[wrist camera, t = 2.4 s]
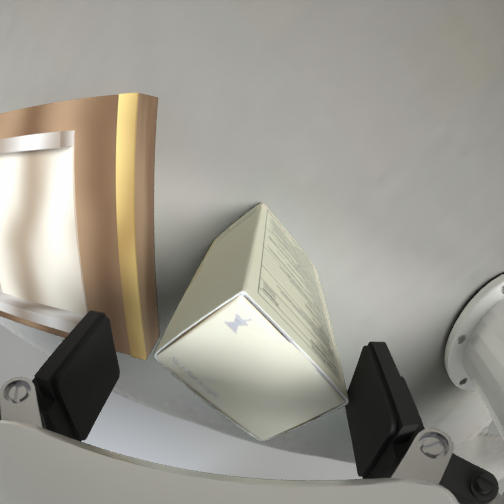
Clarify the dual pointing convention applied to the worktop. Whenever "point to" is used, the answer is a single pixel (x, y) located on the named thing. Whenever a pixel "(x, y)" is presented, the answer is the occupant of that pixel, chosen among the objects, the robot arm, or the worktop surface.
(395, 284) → the worktop surface
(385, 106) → the worktop surface
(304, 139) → the worktop surface
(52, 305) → the dock
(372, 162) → the worktop surface
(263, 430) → the skincare box
